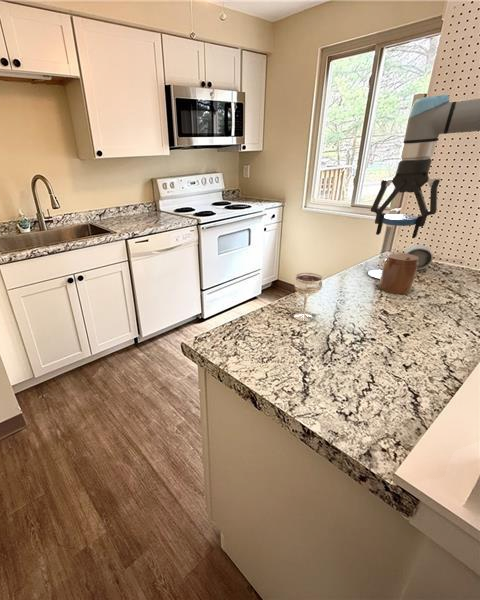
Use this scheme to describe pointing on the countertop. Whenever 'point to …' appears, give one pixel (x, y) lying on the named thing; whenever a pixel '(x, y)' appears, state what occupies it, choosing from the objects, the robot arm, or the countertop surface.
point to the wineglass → (307, 290)
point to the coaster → (375, 274)
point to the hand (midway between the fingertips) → (395, 235)
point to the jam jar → (398, 273)
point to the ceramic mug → (421, 255)
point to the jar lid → (399, 220)
